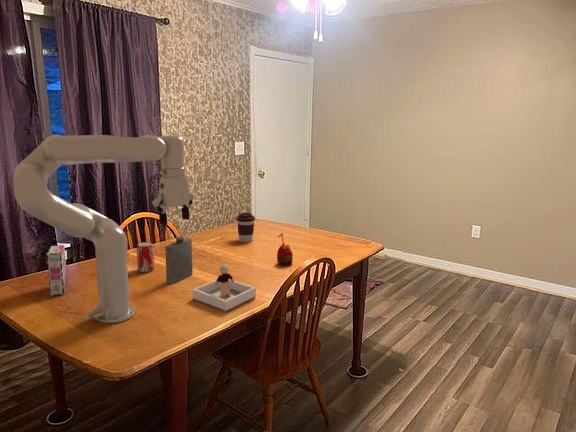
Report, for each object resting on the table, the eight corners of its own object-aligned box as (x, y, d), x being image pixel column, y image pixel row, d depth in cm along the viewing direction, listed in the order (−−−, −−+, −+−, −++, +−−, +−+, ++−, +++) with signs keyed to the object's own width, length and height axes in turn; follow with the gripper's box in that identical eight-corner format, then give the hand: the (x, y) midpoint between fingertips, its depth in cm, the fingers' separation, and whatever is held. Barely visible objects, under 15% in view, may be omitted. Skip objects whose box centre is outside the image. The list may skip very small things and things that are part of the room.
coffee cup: (235, 238, 239) (234, 212, 236) (252, 237, 242) (252, 211, 239) (238, 244, 230) (238, 216, 227) (256, 242, 233) (256, 215, 230)
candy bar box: (65, 295, 162) (61, 253, 158) (50, 296, 160) (45, 254, 156) (68, 284, 172) (64, 244, 168) (54, 285, 170) (50, 245, 166)
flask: (195, 274, 186) (194, 233, 182) (172, 285, 173) (170, 242, 169) (188, 272, 188) (187, 232, 183) (165, 283, 175) (163, 240, 171)
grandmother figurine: (228, 292, 166) (228, 261, 163) (235, 295, 164) (235, 263, 161) (212, 298, 160) (212, 266, 157) (219, 301, 158) (219, 268, 155)
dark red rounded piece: (282, 267, 197) (283, 235, 194) (273, 263, 202) (273, 232, 199) (295, 264, 202) (296, 233, 198) (285, 260, 207) (286, 229, 204)
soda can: (149, 273, 185) (148, 247, 182) (134, 272, 186) (132, 245, 183) (157, 268, 192) (156, 242, 189) (143, 266, 193) (141, 241, 190)
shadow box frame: (226, 312, 151) (226, 301, 150) (192, 299, 161) (192, 289, 160) (255, 297, 164) (255, 287, 163) (223, 286, 173) (223, 277, 172)
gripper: (159, 176, 138) (161, 228, 142) (199, 171, 152) (200, 219, 156) (144, 174, 143) (147, 224, 147) (185, 169, 156) (186, 215, 160)
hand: (174, 221), depth 151 cm, fingers open, 9 cm apart
